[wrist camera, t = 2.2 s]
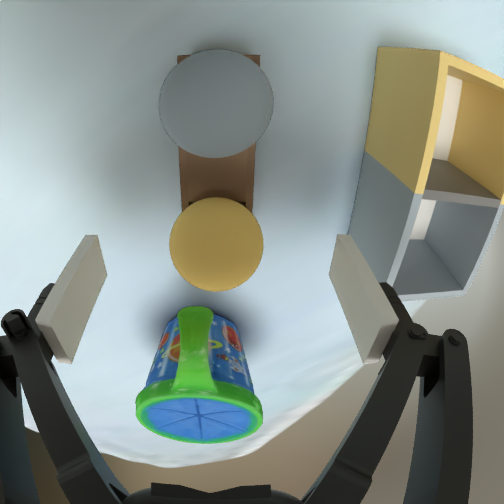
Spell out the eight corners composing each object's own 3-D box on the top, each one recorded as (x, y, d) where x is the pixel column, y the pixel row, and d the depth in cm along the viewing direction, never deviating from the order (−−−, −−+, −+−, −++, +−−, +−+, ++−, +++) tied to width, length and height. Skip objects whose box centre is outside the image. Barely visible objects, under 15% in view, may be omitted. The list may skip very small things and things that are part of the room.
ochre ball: (173, 183, 17) (156, 228, 13) (261, 183, 18) (272, 227, 14) (179, 255, 20) (168, 310, 16) (256, 255, 21) (264, 310, 17)
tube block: (377, 46, 17) (440, 50, 11) (464, 74, 18) (532, 95, 11) (346, 241, 26) (378, 303, 20) (424, 242, 26) (465, 295, 20)
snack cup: (241, 378, 36) (246, 454, 28) (154, 370, 35) (144, 447, 26) (270, 280, 28) (286, 379, 19) (148, 267, 26) (121, 365, 18)
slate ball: (169, 52, 13) (144, 51, 9) (269, 52, 14) (285, 49, 9) (171, 142, 16) (150, 175, 12) (264, 142, 16) (276, 175, 12)
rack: (189, 56, 17) (177, 55, 13) (253, 56, 17) (260, 55, 13) (193, 219, 24) (186, 258, 20) (245, 219, 24) (249, 258, 20)
